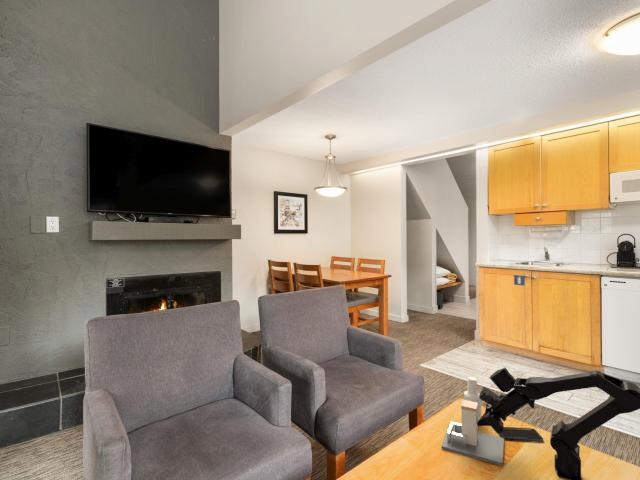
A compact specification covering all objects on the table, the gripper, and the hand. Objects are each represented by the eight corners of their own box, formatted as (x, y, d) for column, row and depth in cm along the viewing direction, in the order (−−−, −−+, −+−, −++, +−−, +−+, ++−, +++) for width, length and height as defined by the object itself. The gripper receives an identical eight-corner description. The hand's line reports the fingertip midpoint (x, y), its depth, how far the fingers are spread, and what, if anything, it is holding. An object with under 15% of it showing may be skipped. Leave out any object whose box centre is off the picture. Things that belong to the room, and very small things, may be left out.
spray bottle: (468, 414, 150) (468, 373, 150) (484, 420, 145) (484, 378, 144) (461, 419, 146) (460, 378, 145) (476, 426, 140) (476, 383, 140)
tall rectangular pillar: (478, 438, 130) (477, 402, 130) (476, 446, 126) (476, 409, 125) (463, 435, 133) (463, 399, 132) (461, 442, 128) (461, 405, 128)
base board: (503, 440, 131) (503, 438, 131) (502, 466, 117) (502, 463, 117) (448, 426, 141) (448, 424, 141) (441, 448, 127) (441, 446, 127)
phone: (494, 426, 139) (534, 428, 137) (495, 429, 139) (534, 431, 137) (502, 438, 131) (544, 440, 129) (502, 440, 131) (544, 443, 129)
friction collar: (468, 434, 133) (468, 425, 133) (466, 446, 126) (466, 437, 126) (451, 430, 137) (450, 421, 137) (447, 441, 129) (447, 432, 129)
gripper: (494, 373, 133) (464, 395, 138) (492, 394, 117) (457, 417, 122) (518, 398, 129) (486, 419, 135) (518, 422, 113) (482, 445, 119)
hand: (477, 424), depth 128 cm, fingers closed, pressing on tall rectangular pillar
